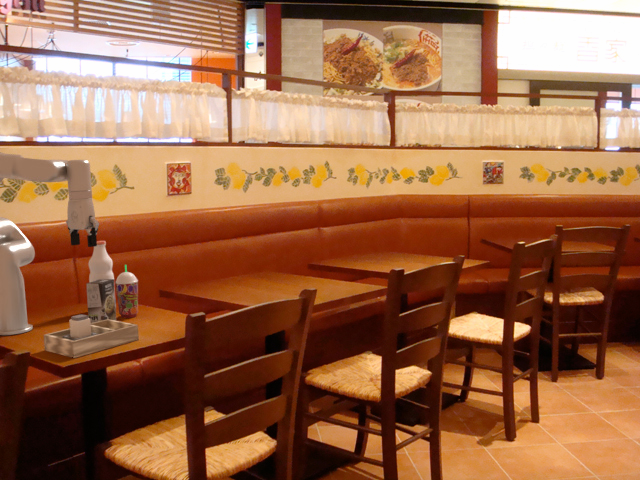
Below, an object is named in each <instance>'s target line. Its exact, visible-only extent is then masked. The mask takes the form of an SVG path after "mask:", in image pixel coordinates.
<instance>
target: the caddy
mask: <svg viewBox="0 0 640 480" xmlns="http://www.w3.org/2000/svg"><path fill="white" fill-rule="evenodd" d="M136 341H139V325H138V324H134V323H131V322H124V321H121V320H116V321H115V320H110V319H107V320H102V321H98V322H94V323H91V335H90V336H86V337H82V338H74V337H71V336H70V328H67V329H62V330H58V331H54V332H51V333H50V332H49V333H46V334H43V343H44V344H43V347H44V351H45V352H48V353H49V352H50V353H54V354H58V355H62V356H65V357H67V358H68V357H69V358H72V357H73V358H72V359H76V358H80V357H83V356H87V355H90V354H94V353H97V352H101V351H104V350H107V349H111V348H114V347H119V346H122V345H125V344H128V343H132V342H136Z"/></svg>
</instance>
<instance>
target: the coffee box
mask: <svg viewBox="0 0 640 480" xmlns="http://www.w3.org/2000/svg"><path fill="white" fill-rule="evenodd" d="M85 284H86V297H87V298H86V300H87V303H86V304H87V316H88V318H90V322H91V323H94V322H98V321H102V320H107V319H110V320H115V321H117V311H116V310H117V305H116V306H115V300H116V289H115V290H114V285H115V278H114V279H99V280H96V281H92V282H87V283H85Z"/></svg>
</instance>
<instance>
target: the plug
mask: <svg viewBox="0 0 640 480" xmlns="http://www.w3.org/2000/svg"><path fill="white" fill-rule="evenodd" d="M68 323H69V329H70V336H71V337H74V338H82V337H86V336H90V335H91V322H90V318H88V314H87V315H86V314H77V315H73V316H71V318H70V319H69V322H68Z"/></svg>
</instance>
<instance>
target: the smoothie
mask: <svg viewBox="0 0 640 480" xmlns="http://www.w3.org/2000/svg"><path fill="white" fill-rule="evenodd" d="M127 265H128V264H124V271H123V272H121V273H119V275H117V278H116V280H115V281H114V284H115V292H116V298H117V306H118V313H119V315H120V318H123V319H131V318H135V317H137V315H138V313H139V279H138V278H137V276H135V274H134V273H132V272H129V271H128V270H127V269H128V268H127V267H128V266H127Z"/></svg>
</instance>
